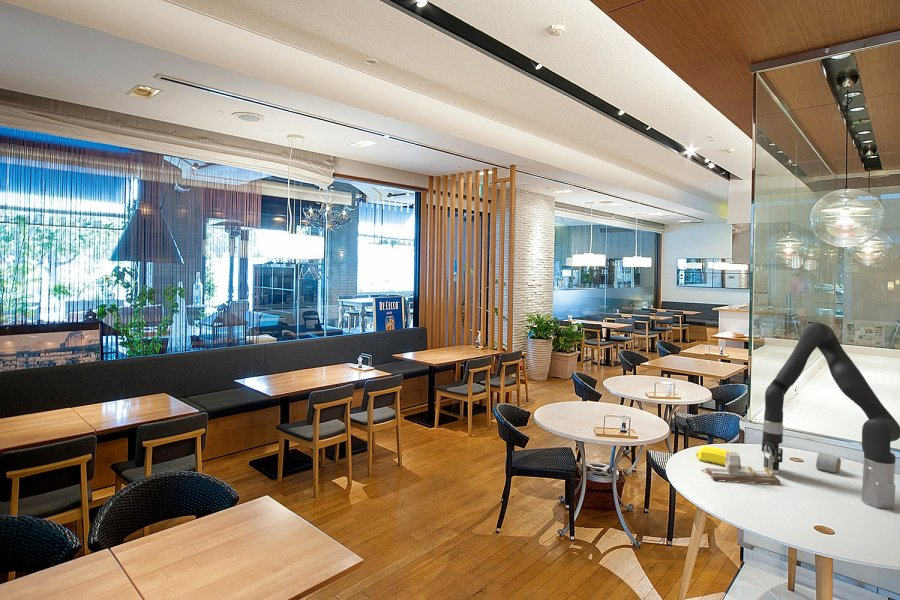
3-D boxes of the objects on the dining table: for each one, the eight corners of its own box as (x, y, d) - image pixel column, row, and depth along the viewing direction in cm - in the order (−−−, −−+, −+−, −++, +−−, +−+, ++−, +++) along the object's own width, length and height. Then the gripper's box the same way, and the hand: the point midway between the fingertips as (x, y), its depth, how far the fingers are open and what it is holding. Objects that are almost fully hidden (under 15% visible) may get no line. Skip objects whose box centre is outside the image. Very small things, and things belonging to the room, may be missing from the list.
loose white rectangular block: (778, 473, 225) (778, 456, 225) (767, 473, 226) (767, 455, 226) (773, 470, 229) (774, 452, 229) (762, 469, 230) (763, 452, 230)
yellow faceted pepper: (698, 455, 247) (693, 460, 241) (698, 442, 247) (694, 446, 241) (740, 465, 236) (736, 470, 230) (740, 451, 235) (737, 455, 230)
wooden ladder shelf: (779, 484, 214) (780, 459, 213) (713, 480, 218) (714, 456, 217) (769, 476, 223) (770, 452, 222) (706, 472, 227) (706, 448, 226)
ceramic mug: (838, 475, 224) (839, 458, 223) (815, 470, 230) (816, 453, 229) (841, 469, 231) (842, 452, 231) (819, 464, 237) (820, 448, 237)
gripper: (790, 436, 219) (788, 473, 220) (774, 426, 233) (772, 461, 234) (771, 435, 220) (769, 472, 221) (756, 425, 234) (755, 460, 235)
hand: (771, 466), depth 228 cm, fingers open, 8 cm apart
